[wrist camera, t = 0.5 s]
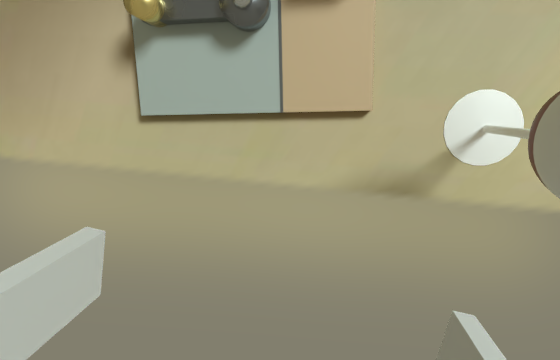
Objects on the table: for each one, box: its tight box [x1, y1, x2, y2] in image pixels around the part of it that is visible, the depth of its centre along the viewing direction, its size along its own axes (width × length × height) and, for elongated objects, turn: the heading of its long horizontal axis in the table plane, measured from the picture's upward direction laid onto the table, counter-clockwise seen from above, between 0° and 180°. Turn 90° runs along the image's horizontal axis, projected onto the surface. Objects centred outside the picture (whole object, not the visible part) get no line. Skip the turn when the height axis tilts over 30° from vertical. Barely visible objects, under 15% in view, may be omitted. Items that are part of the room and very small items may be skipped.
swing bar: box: [123, 0, 271, 32], centre depth 33 cm, size 13×4×4 cm, turn 91°
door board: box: [131, 0, 376, 115], centre depth 35 cm, size 16×24×1 cm, turn 91°
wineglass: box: [444, 90, 560, 198], centre depth 26 cm, size 8×9×20 cm
